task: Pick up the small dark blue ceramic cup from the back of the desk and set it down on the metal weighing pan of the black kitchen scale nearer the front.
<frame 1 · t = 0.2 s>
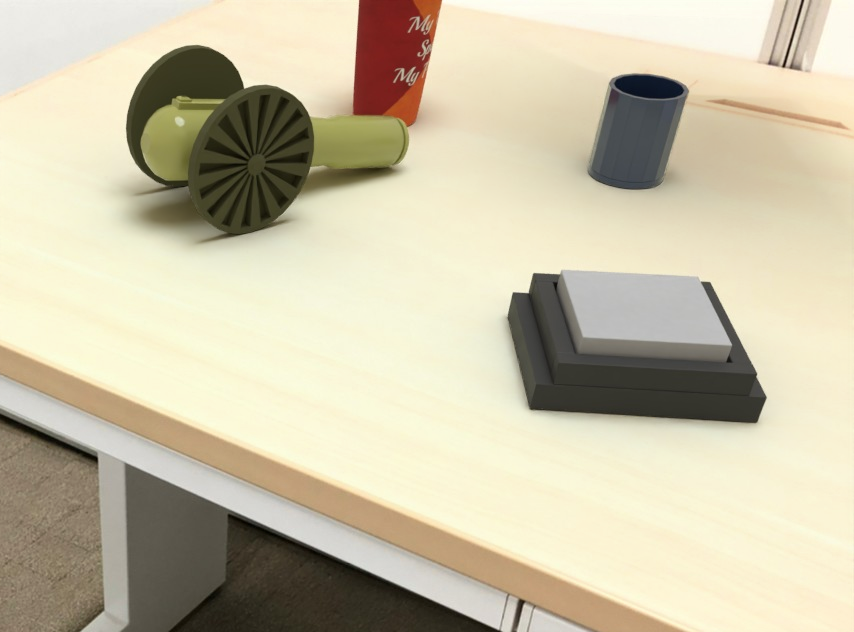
scale: (624, 365, 83), on the table
small cup: (625, 174, 107), on the table
cannon: (273, 194, 105), on the table
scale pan: (639, 317, 81), point 4 cm above the table, slide at -0.2 cm
coffee cup: (384, 118, 117), on the table
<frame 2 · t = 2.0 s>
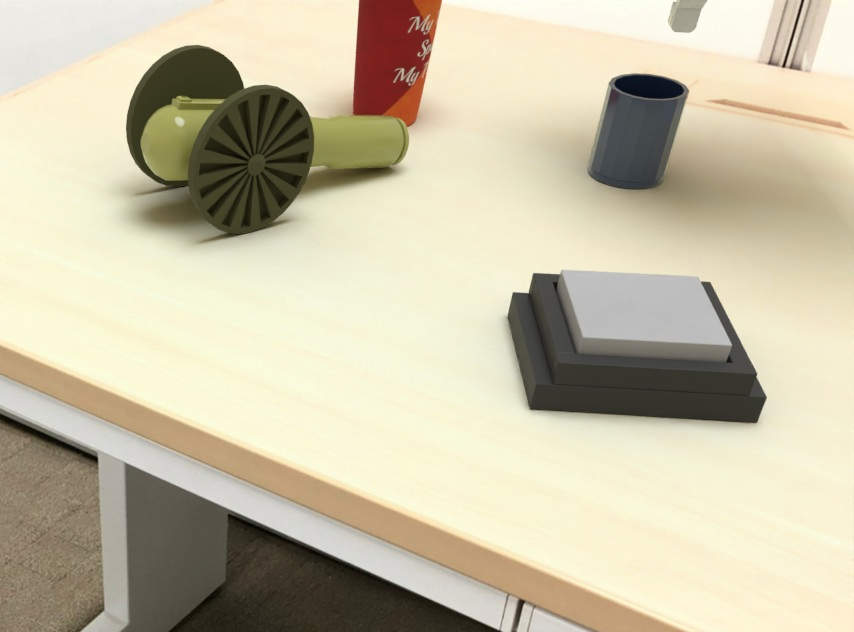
hand: (666, 10, 98), 13 cm above the table, tool pointing down, fingers open, 8 cm apart
nothing on the table moved.
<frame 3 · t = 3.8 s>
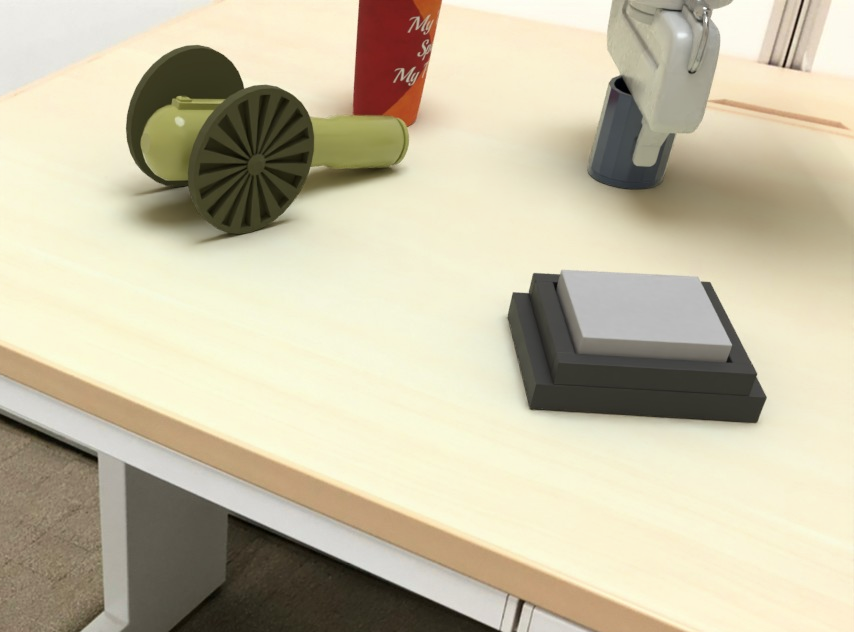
hand: (632, 144, 105), 3 cm above the table, tool pointing down, fingers closed on small cup, 6 cm apart
small cup: (625, 174, 107), on the table, touching gripper
everything else where it was.
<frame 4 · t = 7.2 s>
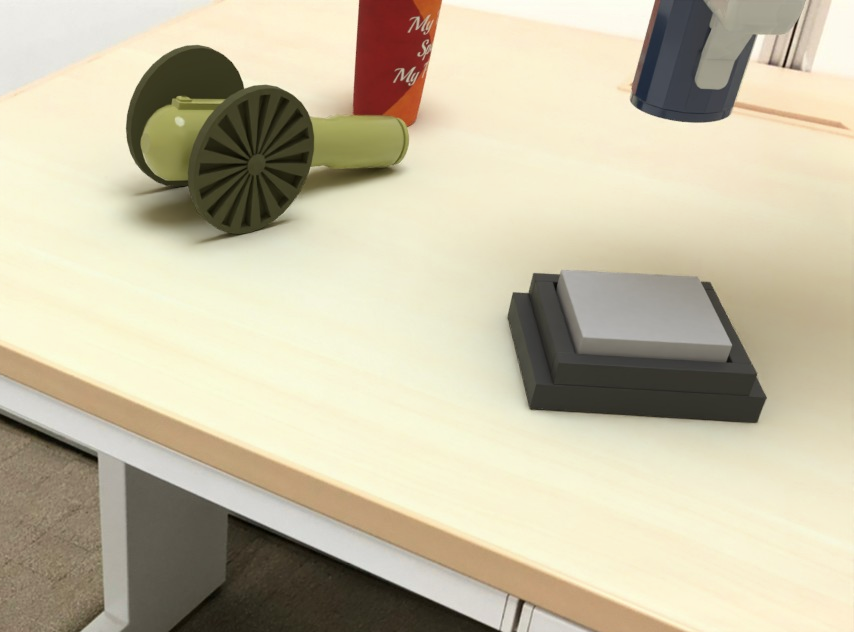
hand: (692, 63, 78), 18 cm above the table, tool pointing down, fingers closed on small cup, 6 cm apart
small cup: (680, 104, 79), point 15 cm above the table, touching gripper
everything else where it was.
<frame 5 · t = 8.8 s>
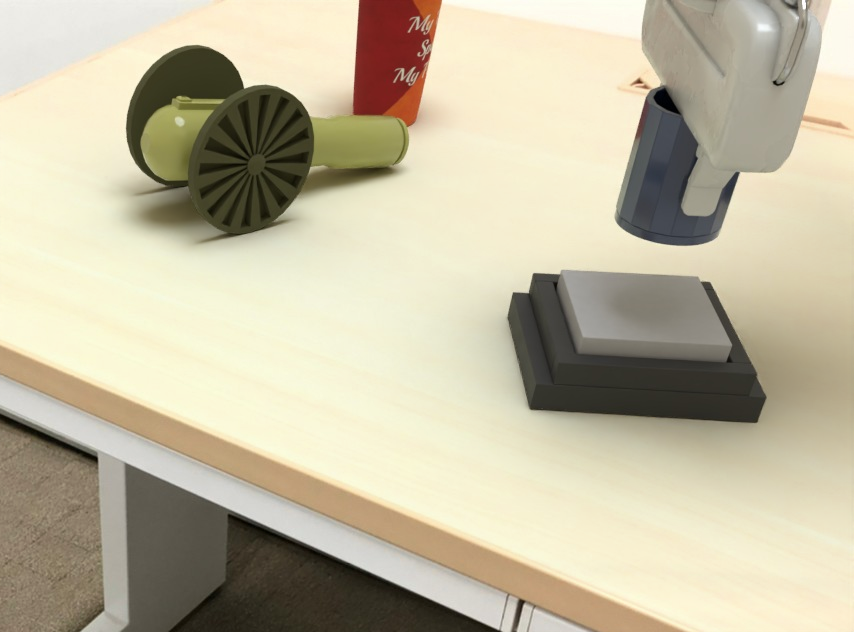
hand: (679, 183, 75), 13 cm above the table, tool pointing down, fingers closed on small cup, 6 cm apart
small cup: (666, 223, 77), point 10 cm above the table, touching gripper
everything else where it was.
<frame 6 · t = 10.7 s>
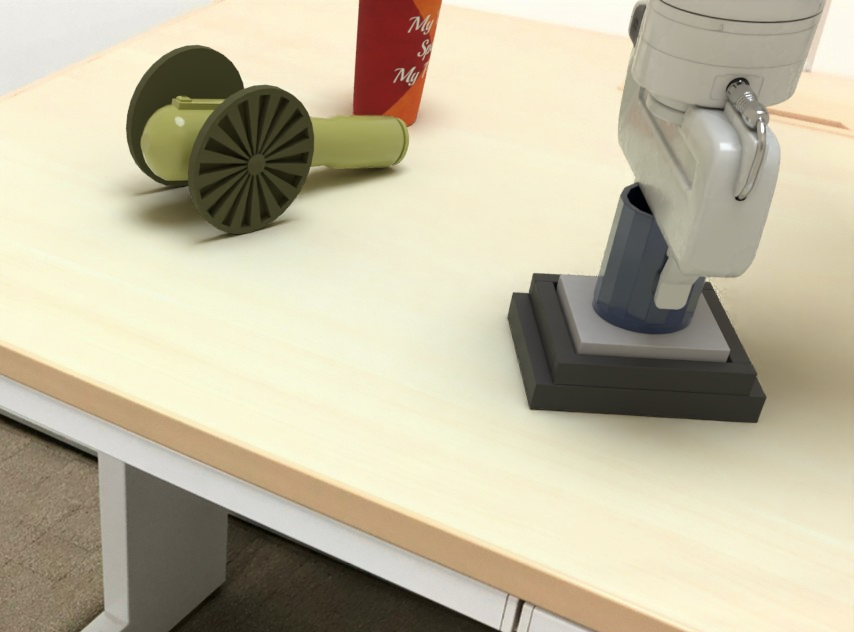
hand: (653, 274, 79), 7 cm above the table, tool pointing down, fingers closed on small cup, 6 cm apart
small cup: (641, 310, 81), point 4 cm above the table, touching gripper
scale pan: (637, 322, 81), point 3 cm above the table, slide at -0.5 cm
everything else where it was.
when the fingers open (7 cm above the table, at t = 10.8 s): small cup stays where it is, resting on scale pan.
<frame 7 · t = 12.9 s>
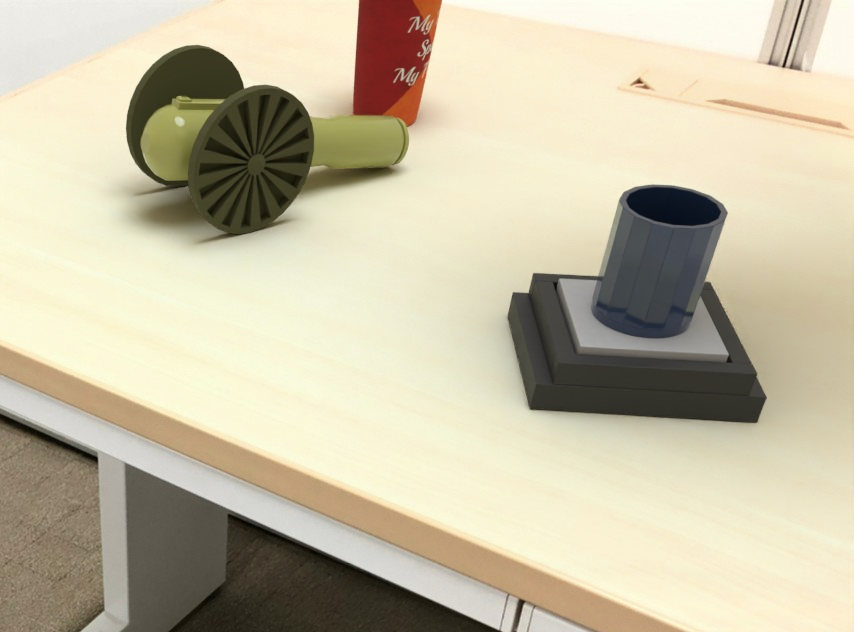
small cup: (640, 314, 81), point 4 cm above the table, touching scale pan
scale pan: (636, 326, 81), point 3 cm above the table, slide at -0.8 cm, touching small cup
everything else where it was.
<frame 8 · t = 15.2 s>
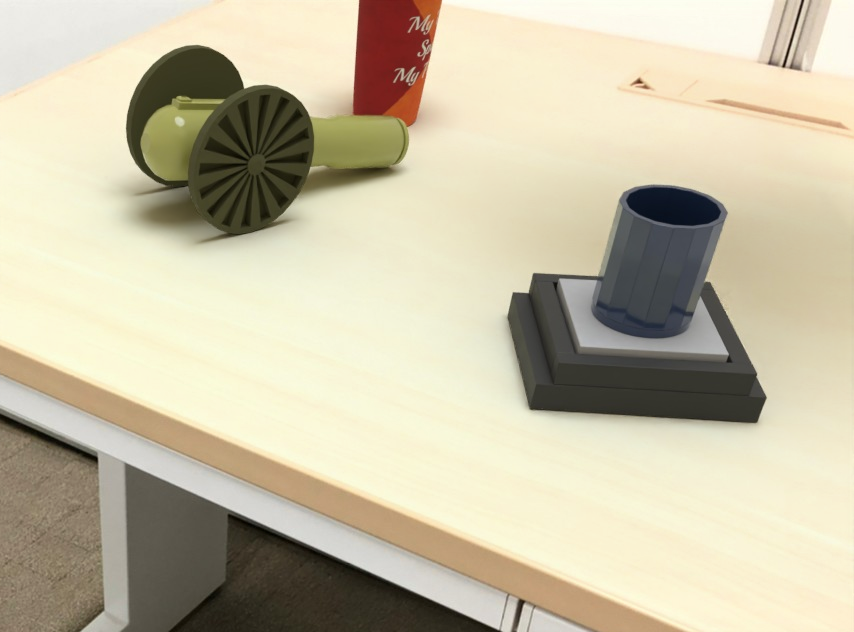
nothing on the table moved.
at the end: small cup 0.0 cm off-centre on the scale, point 3.9 cm above the scale's base; small cup tilted 0°; the gripper is holding nothing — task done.
